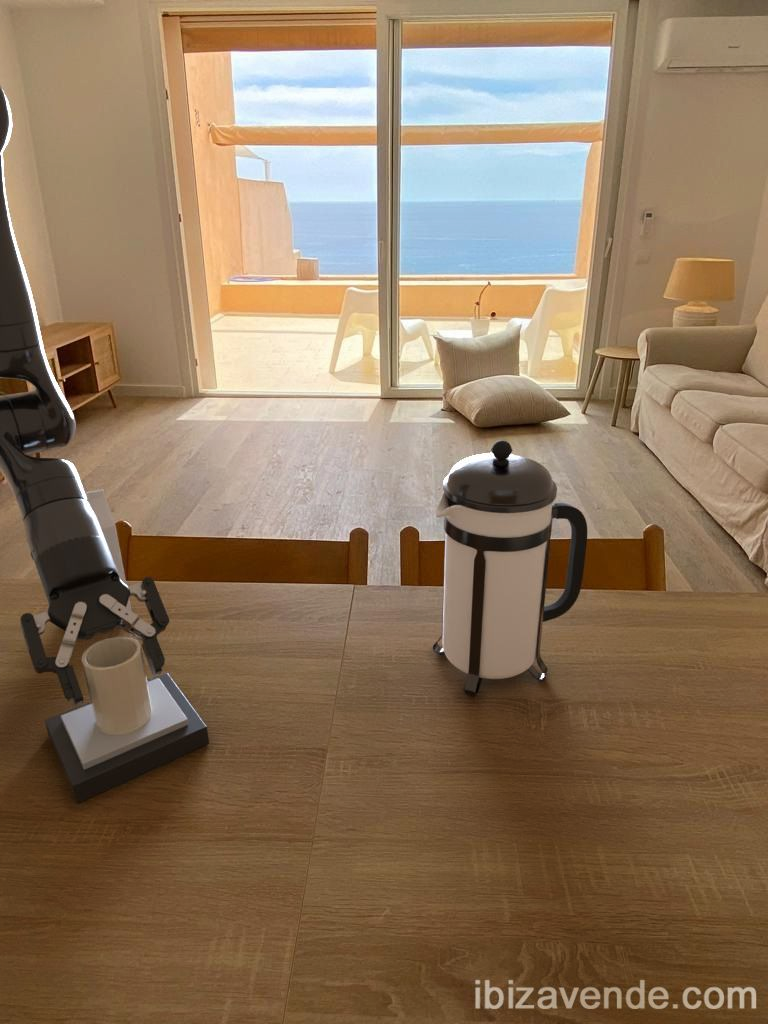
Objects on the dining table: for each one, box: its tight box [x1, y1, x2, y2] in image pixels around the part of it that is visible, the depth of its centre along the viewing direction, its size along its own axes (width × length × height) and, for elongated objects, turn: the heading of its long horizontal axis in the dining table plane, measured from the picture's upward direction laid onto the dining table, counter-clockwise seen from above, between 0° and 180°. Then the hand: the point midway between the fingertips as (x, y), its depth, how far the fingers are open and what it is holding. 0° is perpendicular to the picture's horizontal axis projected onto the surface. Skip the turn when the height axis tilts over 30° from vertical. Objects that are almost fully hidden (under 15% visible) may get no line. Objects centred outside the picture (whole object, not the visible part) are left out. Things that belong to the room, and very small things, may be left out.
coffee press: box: [432, 439, 588, 697], centre depth 84 cm, size 17×16×30 cm
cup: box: [81, 636, 152, 735], centre depth 74 cm, size 6×6×8 cm
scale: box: [44, 672, 210, 805], centre depth 76 cm, size 14×12×3 cm
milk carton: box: [85, 488, 132, 611], centre depth 97 cm, size 7×7×19 cm
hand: (120, 687), depth 73 cm, fingers open, 7 cm apart
